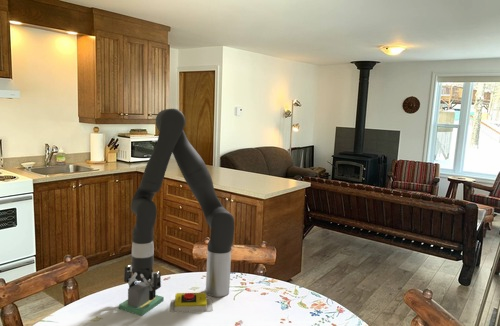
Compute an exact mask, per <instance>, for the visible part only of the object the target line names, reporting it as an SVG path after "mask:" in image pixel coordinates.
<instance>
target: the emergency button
mask: <svg viewBox="0 0 500 326" xmlns="http://www.w3.org/2000/svg"><path fill="white" fill-rule="evenodd" d="M212 311H214V309H213V300H212V298H207V293H206V292H177V293H175V298H173V299H171V300H170V308H169V312H170V313H193V312H194V313H201V312H202V313H204V312H208V313H209V312H212Z"/></svg>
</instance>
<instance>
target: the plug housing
mask: <svg viewBox="0 0 500 326" xmlns="http://www.w3.org/2000/svg"><path fill="white" fill-rule="evenodd" d="M148 282H150V279H149V280H148ZM151 285H152V284H151ZM149 290H150V289H149V288H148V286H146V284H145V282H141V281H138V282H137V283H136V284H135V285H134V286H132V287H131V288H129V287H128V288H127V300H128V305H129V306H132V307H135V308H138V307H139V306H141V305H142V304H144V303H145V302H147V301H148V300H149Z"/></svg>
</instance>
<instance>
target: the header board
mask: <svg viewBox="0 0 500 326" xmlns="http://www.w3.org/2000/svg"><path fill="white" fill-rule="evenodd" d="M162 302H164V296H161V295H158V294H156V296H155V298H154V299H153V300H148V301H147V302H145V303H144V304H142V305H141V306H139V307H138V308H135V307H132V306H129V305H128V299H126V300H124V301H123V302H121V303H119V304H118V305H119V307H118V309H119V310H121V311H125V312H128V313H132V314H135V315H138V316H141V317H143V316H145V315H146V314H147V313H149V312H150V311H151V310H153V309H154V308H155V307H157V306H158V305H160V304H161V303H162Z"/></svg>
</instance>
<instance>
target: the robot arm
mask: <svg viewBox="0 0 500 326" xmlns="http://www.w3.org/2000/svg"><path fill="white" fill-rule="evenodd" d="M155 126H156V129H157V131H158V132H159V133H158V137H157V140H156V144H155V146H154V148H153V151H152V154H151V155H150V156H149V159H148V161H147V163H146V165H145V168H144V171H143V174H142V178H141V181H140V184H139V186H138V188H137V190H136V191H135V193H134V195H133V197H132V200H131V203H130V210H131V212H132V213H133V214H134V215H136V223H135V224H134V226H133V227H132V245H131V264H128V265H126V266H125V267H124V276H123V282H124V283H127V284H128V289H129V288H131V287H132V286H134V285H136V284H137V283H136V282H145V284H146V286H148V288H149V289H150V290H149V300H153V299H154V298H155V296H156V295H157V294H156V293H157V292H156V291H157V290H159V289H160V288H161V287H162V284H161V283H162V281H161V278H162V277H161V271H154V269H153V267H154V265H155V264H154V257H155V254H154V253H155V252H154V251H155V246H154V245H155V244H154V228H155V225H156V221H157V219H156V218H157V215H158V214H157V213H158V211H157V205H156V203H155V201H153V199H154V196H155V194H156V193H158V192H159V191H160V190H161V187H162V185H163V181H164V179H165V175H166V173H167V172H166V171H167V169H168V166H169V162H170V160H171V157H172V155H173V158H174V159H175V162H176V164H177V166H178V168H179V170H180V173H181V174H182V177H183V179H184V180H185V182H186V184H187V185H188V187H189V189H190V191H191V193H192V194H193V196H194V197H195V199H196V200H197V202H198V203H199V206H200V208H201V211H202V213H203V215H204V218H205V221H206V224H207V226H209V228H210V238H209V241H208V242H207V247H206V248H207V250H206V251H207V253H206V254H207V256H206V277H205V278H206V280H205V293H206V295H208V296H209V297H218V298H220V297H226V296H227V295H229V294H230V286H231V285H230V284H231V282H230V281H231V261H232V258H231V257H232V246H233V243H234V236H235V218H234V215H233V214H232V213H231V212H229V211H228V210H227V209H226V208H225V207H224V206H223V204H222V203H221V201H220V199H219V198H218V196H217V194H216V191H215V186H214V182H213V179H212V175H211V174H210V170H209V169H208V167H207V164H206V163H205V161H204V160H203V158H202V157H201V155H200V154H199V153H198V151H197V150H196V148H194V146H193V145H192V144H191V142H190V141H189V139H188V137H187V135H186V133H185V130H184V128H185V126H186V117H185V114H184V113H183V112H182V111H181V110H179V109H177V108H167V109H162V110H161V111H159V112H158V113H157V115H156V117H155ZM132 274H133V275H132ZM148 280H150V282H148ZM151 284H152V285H151Z"/></svg>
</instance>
